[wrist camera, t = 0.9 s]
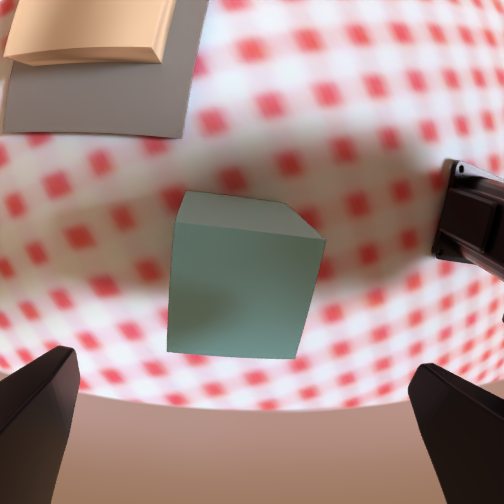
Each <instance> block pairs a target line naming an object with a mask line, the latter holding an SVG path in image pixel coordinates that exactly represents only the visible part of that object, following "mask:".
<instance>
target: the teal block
mask: <svg viewBox="0 0 504 504" xmlns="http://www.w3.org/2000/svg"><path fill="white" fill-rule="evenodd" d="M325 243H326V239H325V238H324V237H322V236H321V235H320V234H319V233H318V232H317V231H316V230H315V229H314V228H313V227H311V226H310V225H309V224H308V223H307V222H306V221H305V220H304V219H303V218H302V217H300V216H299V215H298V214H297V213H296V212H295V211H294V210H293V209H291V208H290V207H289V206H288V205H287V204H286V203H281V202H274V201H267V200H260V199H252V198H245V197H237V196H229V195H221V194H213V193H205V192H196V191H187V190H186V192H185V195H184V198H183V200H182V203H181V206H180V209H179V211H178V214H177V217H176V220H175V224H174V235H173V246H172V259H171V272H170V287H169V305H168V327H167V352H174V353H184V354H196V355H209V356H223V357H241V358H265V359H295V356H296V353H297V350H298V346H299V343H300V339H301V336H302V332H303V329H304V325H305V321H306V318H307V314H308V310H309V307H310V303H311V299H312V295H313V291H314V288H315V284H316V280H317V276H318V272H319V268H320V264H321V260H322V255H323V251H324V247H325Z"/></svg>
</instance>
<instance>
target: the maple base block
mask: <svg viewBox="0 0 504 504" xmlns="http://www.w3.org/2000/svg"><path fill="white" fill-rule="evenodd" d="M175 4H176V0H19V3H18V6H17V9H16V12H15V15H14V19H13V22H12V25H11V29H10V32H9V36H8V40H7V44H6V48H5V52H4V56H3V57H5V58H9V59H12V60H15V61H19V62H22V63H25V64H28V65H31V66H41V65H52V64H66V63H87V62H137V63H158V64H162V60H163V55H164V51H165V46H166V41H167V37H168V33H169V28H170V24H171V20H172V16H173V12H174V8H175Z"/></svg>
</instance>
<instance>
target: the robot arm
mask: <svg viewBox="0 0 504 504" xmlns="http://www.w3.org/2000/svg"><path fill="white" fill-rule="evenodd" d="M459 166H460V171H459ZM439 249H440V251H439ZM438 251H439V253H438ZM432 255H433V256H434V257H435V258H437V259H440V260H447V261H454V262H461V263H468V264H475V265H478V266H479V267H481V268H483V269H484V270H486V271H487V272H489V273H491V274H492V275H494V276H495V277H497V278H499V279H500V280H502V281H503V282H504V180H503V179H501V178H499V177H497V176H495V175H493V174H491V173H488V172H486V171H484V170H482V169H480V168H477V167H475V166H473V165H470V164H468V163H466V162H463V161H459V160H456V161H455V162H454V163H453V166H452V171H451V176H450V181H449V185H448V190H447V194H446V199H445V203H444V207H443V211H442V215H441V219H440V223H439V227H438V230H437V234H436V238H435V241H434V245H433V248H432ZM502 321H503V322H504V315H503V318H502ZM79 384H80V372H79V367H78V361H77V356H76V352H75V350H74V349H73V348H70V347H65V346H57V347H55V348H53V349H52V350H50V351H48V352H47V353H45V354H43V355H42V356H40V357H38V358H37V359H35V360H33V361H32V362H30V363H29V364H27V365H25V366H24V367H22V368H20V369H19V370H17V371H16V372H14V373H12V374H11V375H9V376H8V377H6V378H4V379H3V380H1V381H0V504H51V500H52V496H53V491H54V488H55V484H56V480H57V476H58V473H59V469H60V465H61V462H62V458H63V455H64V451H65V448H66V445H67V441H68V437H69V433H70V428H71V423H72V417H73V412H74V407H75V402H76V398H77V393H78V389H79ZM408 395H409V398H410V401H411V404H412V407H413V410H414V413H415V417H416V420H417V423H418V427H419V430H420V433H421V436H422V438H423V441H424V444H425V446H426V449H427V451H428V454H429V456H430V459H431V461H432V464H433V467H434V469H435V471H436V474H437V477H438V480H439V483H440V485H441V488H442V491H443V493H444V496H445V499H446V502H447V504H504V399H501V398H500V397H498V396H496V395H494V394H492V393H490V392H488V391H486V390H484V389H482V388H480V387H478V386H476V385H474V384H472V383H471V382H469V381H467V380H465V379H463V378H461V377H459V376H457V375H455V374H453V373H451V372H449V371H447V370H445V369H443V368H442V367H440V366H438V365H436V364H434V363H425V364H421V365H420V366H419V367H418V368H417V370H416V372H415V374H414V376H413V378H412V380H411V382H410V384H409V386H408Z"/></svg>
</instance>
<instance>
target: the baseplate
mask: <svg viewBox="0 0 504 504" xmlns="http://www.w3.org/2000/svg"><path fill="white" fill-rule="evenodd" d="M208 3H209V0H176V4H175V8H174V12H173V16H172V20H171V24H170V28H169V33H168V37H167V41H166V46H165V51H164V55H163V60H162V64H158V63H137V62H87V63H66V64H52V65H41V66H31V65H28V64H25V63H22V62H19V61H15V60H14V62H13V66H12V71H11V76H10V82H9V88H8V94H7V100H6V108H5V116H4V125H3V133H13V132H93V133H116V134H132V135H146V136H158V137H169V138H180V139H183V132H184V126H185V119H186V113H187V107H188V101H189V95H190V89H191V84H192V78H193V73H194V68H195V63H196V57H197V52H198V48H199V43H200V38H201V33H202V29H203V24H204V20H205V16H206V11H207V7H208Z"/></svg>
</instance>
